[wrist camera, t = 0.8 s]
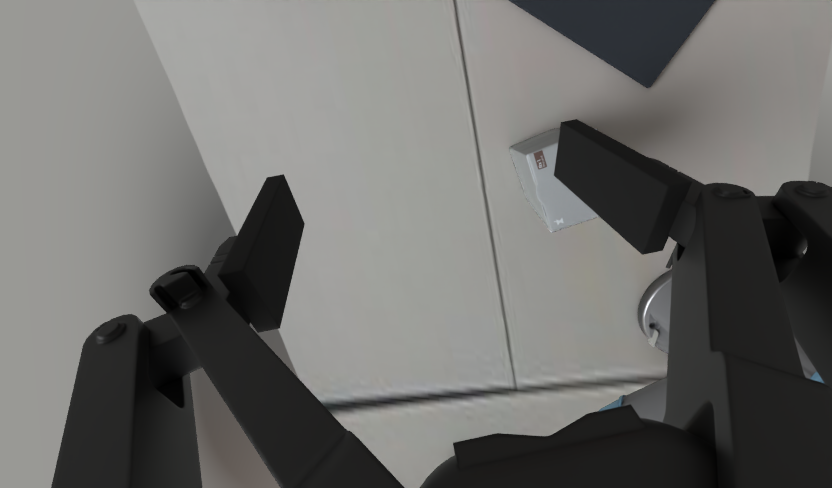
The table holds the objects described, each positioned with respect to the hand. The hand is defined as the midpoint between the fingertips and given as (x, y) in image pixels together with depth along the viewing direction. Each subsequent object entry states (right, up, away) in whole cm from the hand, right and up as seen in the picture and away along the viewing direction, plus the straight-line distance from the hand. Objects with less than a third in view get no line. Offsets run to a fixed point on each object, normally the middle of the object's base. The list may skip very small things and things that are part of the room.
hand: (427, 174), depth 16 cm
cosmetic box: (+16, +8, +29) cm, 34 cm away
